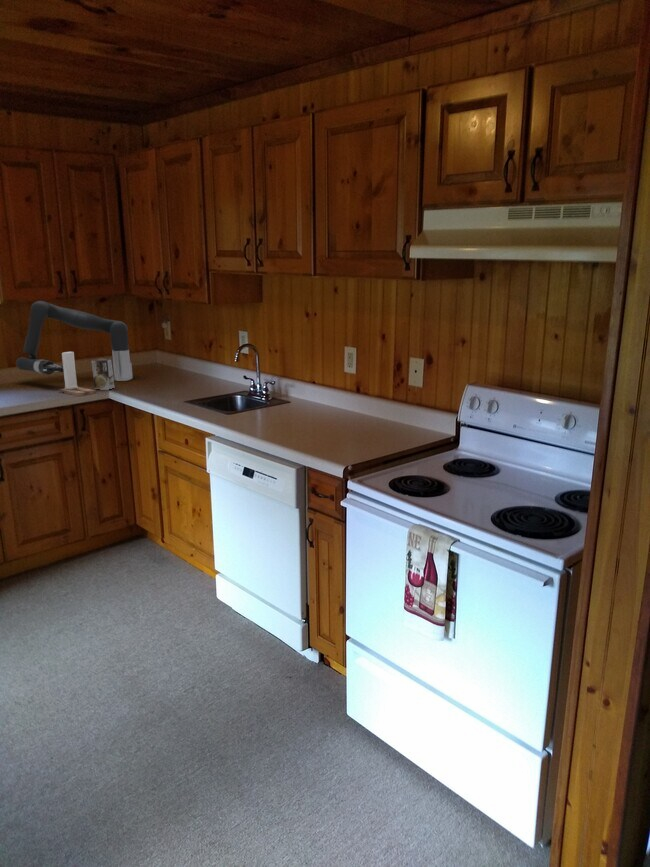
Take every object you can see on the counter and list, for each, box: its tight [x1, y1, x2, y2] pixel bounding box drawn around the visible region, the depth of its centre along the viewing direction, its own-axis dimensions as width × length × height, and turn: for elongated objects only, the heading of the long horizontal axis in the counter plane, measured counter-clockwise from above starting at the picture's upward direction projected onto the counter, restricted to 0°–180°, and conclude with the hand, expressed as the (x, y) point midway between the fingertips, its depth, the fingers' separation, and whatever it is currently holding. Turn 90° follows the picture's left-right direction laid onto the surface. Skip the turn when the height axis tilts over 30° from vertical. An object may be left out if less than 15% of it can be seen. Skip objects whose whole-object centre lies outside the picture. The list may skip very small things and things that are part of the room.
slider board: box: [58, 386, 97, 397], centre depth 347 cm, size 10×17×2 cm, turn 56°
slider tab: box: [61, 351, 79, 389], centre depth 346 cm, size 5×4×19 cm
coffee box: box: [91, 358, 116, 391], centre depth 354 cm, size 9×6×16 cm
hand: (63, 370), depth 349 cm, fingers closed
